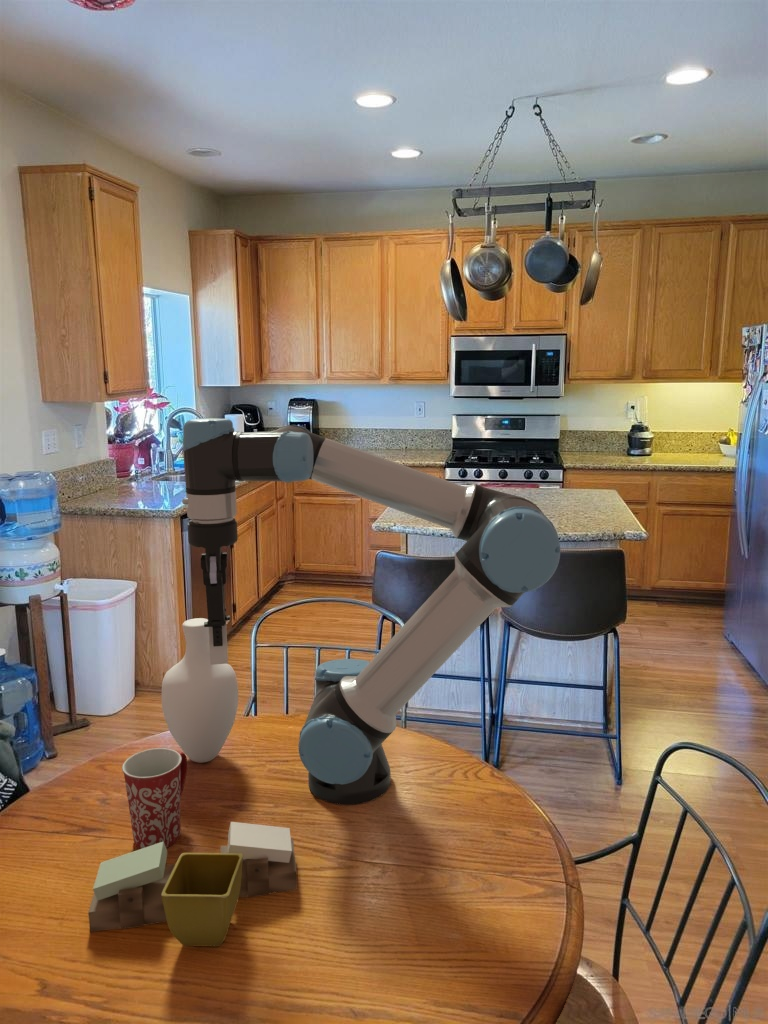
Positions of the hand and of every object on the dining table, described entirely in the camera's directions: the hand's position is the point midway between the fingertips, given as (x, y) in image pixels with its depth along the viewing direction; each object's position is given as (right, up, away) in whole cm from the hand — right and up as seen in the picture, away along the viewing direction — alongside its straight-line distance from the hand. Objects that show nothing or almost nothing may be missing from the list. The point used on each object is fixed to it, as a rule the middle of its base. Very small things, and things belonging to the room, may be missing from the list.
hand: (219, 662), depth 117 cm
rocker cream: (+8, -26, -9) cm, 29 cm away
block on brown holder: (+8, -30, -8) cm, 32 cm away
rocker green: (-8, -27, -15) cm, 32 cm away
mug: (-10, -29, +3) cm, 30 cm away
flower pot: (+3, -33, -19) cm, 38 cm away
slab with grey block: (-8, -31, -14) cm, 36 cm away
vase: (-9, -24, +26) cm, 36 cm away
